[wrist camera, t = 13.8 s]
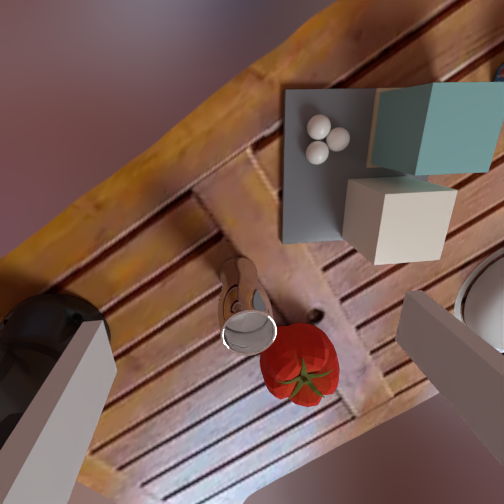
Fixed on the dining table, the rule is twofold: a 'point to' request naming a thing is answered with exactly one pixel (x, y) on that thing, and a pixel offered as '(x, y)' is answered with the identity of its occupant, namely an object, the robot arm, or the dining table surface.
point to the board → (334, 167)
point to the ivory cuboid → (397, 218)
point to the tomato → (300, 364)
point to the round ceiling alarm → (485, 301)
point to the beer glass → (244, 309)
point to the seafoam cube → (439, 128)
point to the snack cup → (500, 74)
